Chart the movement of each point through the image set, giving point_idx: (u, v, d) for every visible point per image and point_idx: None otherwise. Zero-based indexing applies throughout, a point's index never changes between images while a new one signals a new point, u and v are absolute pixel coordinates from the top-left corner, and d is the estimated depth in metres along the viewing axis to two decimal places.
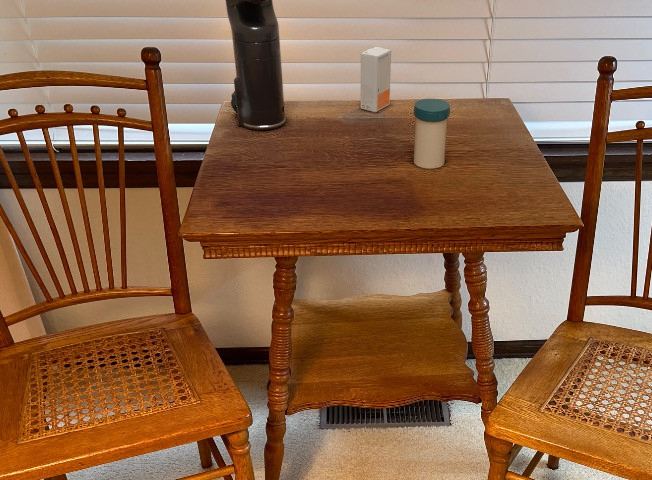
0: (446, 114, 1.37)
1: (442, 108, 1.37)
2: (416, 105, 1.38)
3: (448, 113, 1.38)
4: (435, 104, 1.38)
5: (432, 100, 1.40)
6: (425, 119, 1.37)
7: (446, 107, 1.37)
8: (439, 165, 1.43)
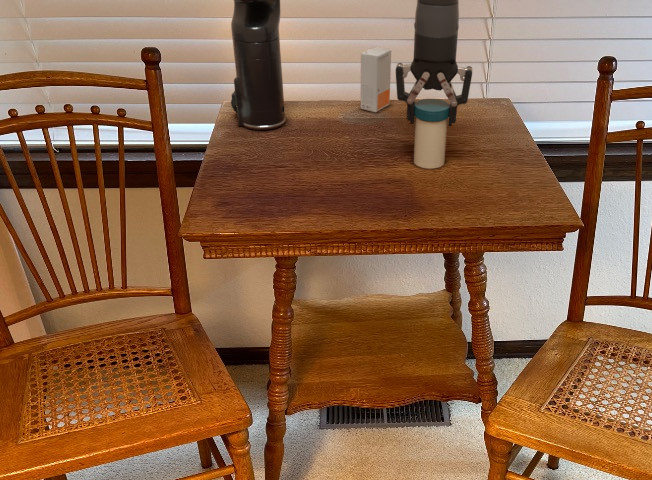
0: (446, 114, 1.37)
1: (442, 108, 1.37)
2: (416, 105, 1.38)
3: (448, 113, 1.38)
4: (435, 104, 1.38)
5: (432, 100, 1.40)
6: (425, 119, 1.37)
7: (446, 107, 1.37)
8: (439, 165, 1.43)
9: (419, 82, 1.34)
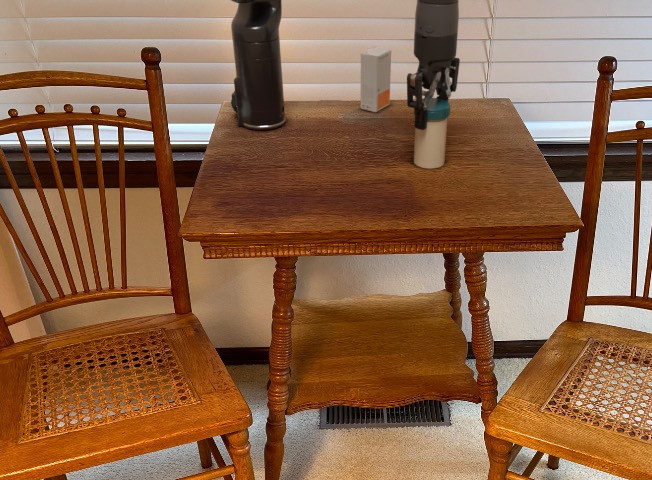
0: None
1: (445, 102, 1.39)
2: (427, 109, 1.36)
3: None
4: (432, 102, 1.38)
5: None
6: (443, 118, 1.37)
7: (444, 101, 1.39)
8: (439, 165, 1.43)
9: (433, 84, 1.33)
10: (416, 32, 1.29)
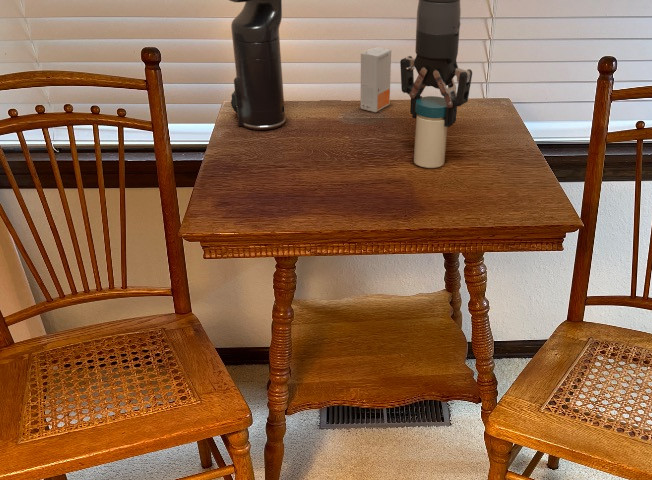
0: None
1: (429, 97, 1.40)
2: None
3: None
4: (430, 101, 1.38)
5: (427, 105, 1.37)
6: None
7: (424, 97, 1.40)
8: (439, 165, 1.43)
9: None
10: (447, 34, 1.28)
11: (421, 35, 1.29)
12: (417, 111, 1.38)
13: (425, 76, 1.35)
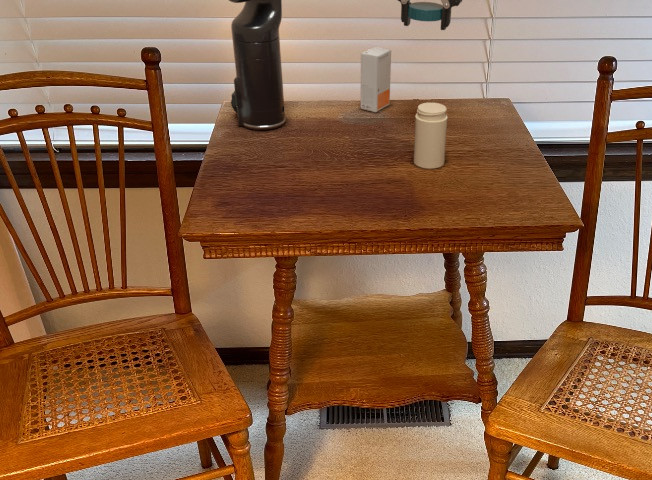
0: None
1: (418, 2, 1.40)
2: (442, 6, 1.38)
3: None
4: (423, 6, 1.38)
5: (423, 8, 1.36)
6: None
7: (413, 3, 1.39)
8: (439, 165, 1.43)
9: None
10: None
11: None
12: (413, 16, 1.37)
13: None
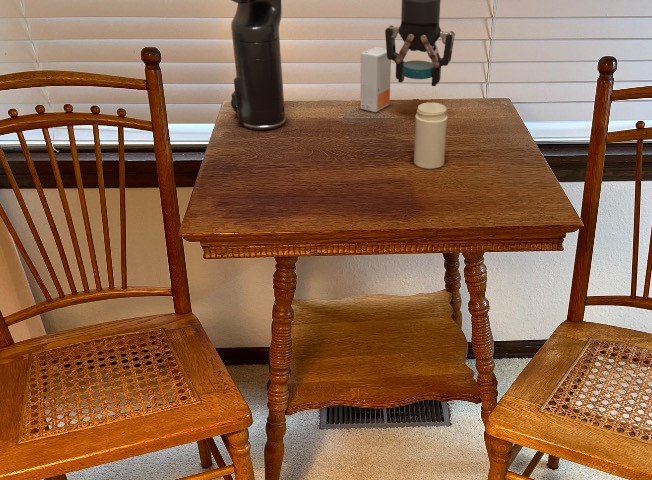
0: None
1: (411, 61, 1.55)
2: (432, 65, 1.53)
3: None
4: (415, 65, 1.53)
5: (416, 68, 1.51)
6: None
7: (407, 62, 1.54)
8: (439, 165, 1.43)
9: None
10: (434, 1, 1.43)
11: (410, 4, 1.43)
12: (406, 74, 1.52)
13: (412, 42, 1.49)
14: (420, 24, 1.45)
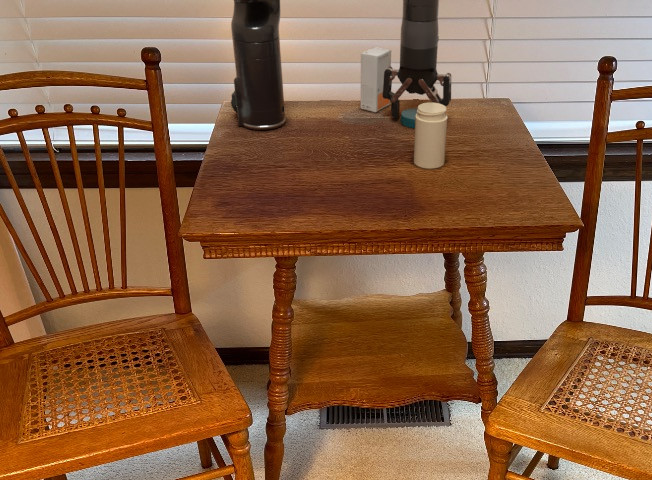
0: None
1: (409, 109, 1.61)
2: None
3: None
4: (413, 114, 1.59)
5: (414, 117, 1.58)
6: None
7: (405, 110, 1.61)
8: (439, 165, 1.43)
9: None
10: (432, 48, 1.49)
11: (409, 50, 1.49)
12: (405, 124, 1.58)
13: (410, 85, 1.55)
14: (418, 69, 1.50)
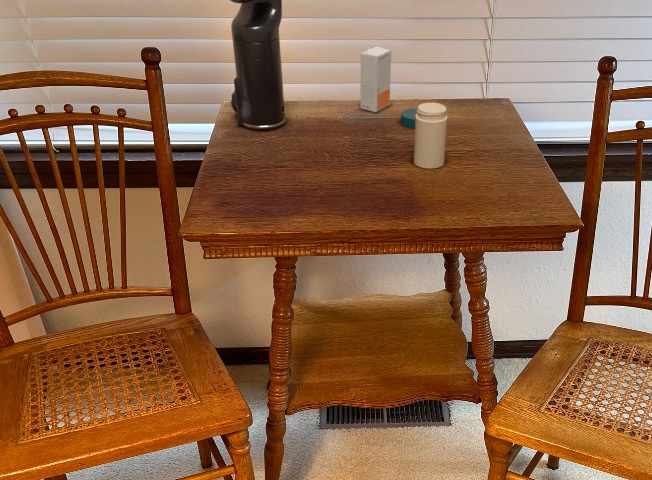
0: None
1: (409, 109, 1.61)
2: None
3: None
4: (413, 114, 1.59)
5: (414, 117, 1.58)
6: None
7: (405, 110, 1.61)
8: (439, 165, 1.43)
9: None
10: None
11: None
12: (405, 124, 1.58)
13: None
14: None
